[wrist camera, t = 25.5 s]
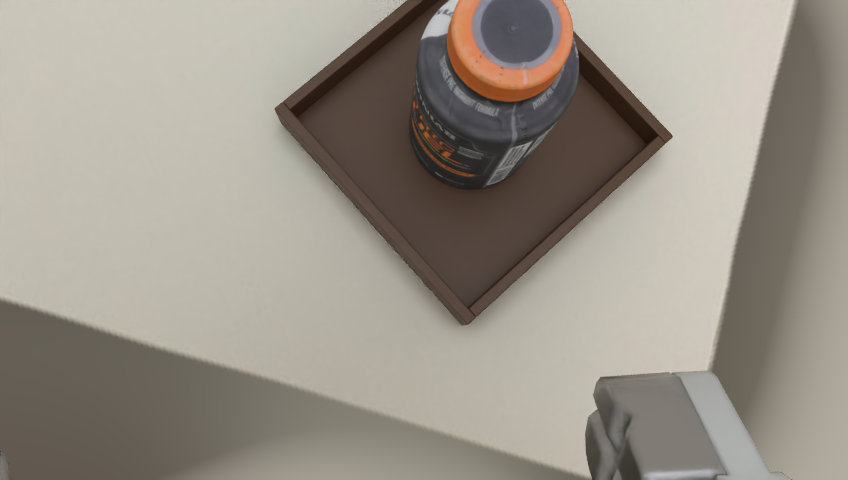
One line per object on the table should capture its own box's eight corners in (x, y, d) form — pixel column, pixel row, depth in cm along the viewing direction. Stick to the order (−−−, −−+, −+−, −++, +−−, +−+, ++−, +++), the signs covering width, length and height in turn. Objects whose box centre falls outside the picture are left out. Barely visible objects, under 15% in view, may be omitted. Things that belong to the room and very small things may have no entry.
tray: (462, 325, 32) (467, 324, 30) (280, 122, 33) (273, 108, 31) (657, 148, 34) (673, 136, 32) (479, -41, 35) (484, -64, 33)
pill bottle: (383, 115, 33) (383, 0, 22) (483, 49, 34) (532, -95, 23) (456, 216, 33) (494, 151, 21) (556, 146, 33) (643, 49, 22)
